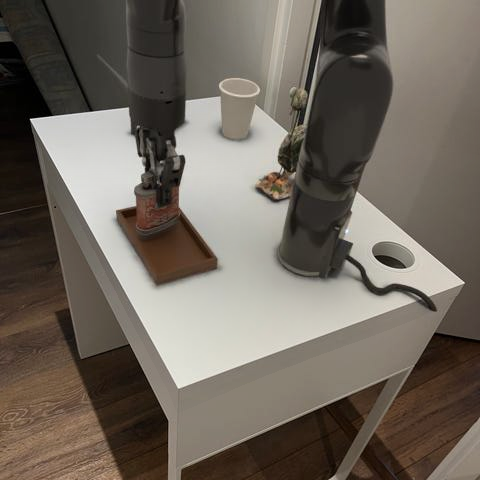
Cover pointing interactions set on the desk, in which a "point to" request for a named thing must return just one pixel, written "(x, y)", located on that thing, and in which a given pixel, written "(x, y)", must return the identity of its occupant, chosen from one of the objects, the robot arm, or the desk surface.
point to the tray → (168, 248)
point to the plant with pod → (287, 154)
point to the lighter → (154, 206)
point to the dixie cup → (237, 106)
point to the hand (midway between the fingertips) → (158, 195)
